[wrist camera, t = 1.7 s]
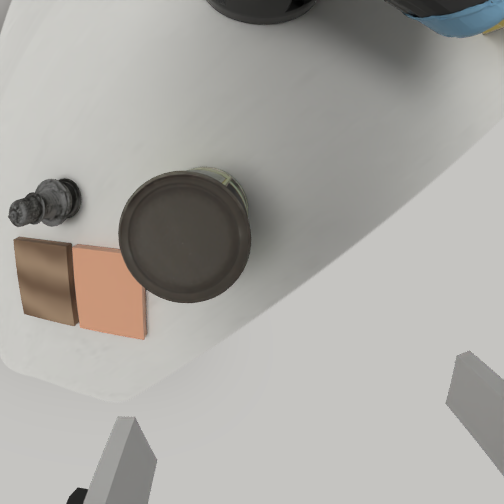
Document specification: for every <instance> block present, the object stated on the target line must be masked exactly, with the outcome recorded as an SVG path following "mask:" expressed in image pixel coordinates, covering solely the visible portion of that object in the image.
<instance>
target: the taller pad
mask: <svg viewBox="0 0 504 504" xmlns="http://www.w3.org/2000/svg"><path fill="white" fill-rule="evenodd" d="M72 252H73V268H74V280H75V290H76V300H77V308H78V316H79V323H80V328H84V329H89V330H94V331H99V332H104V333H109V334H114V335H119V336H125V337H131V338H136V339H142V340H144V339H145V337H146V335H147V328H146V292H145V288H144V287H143V286H142V285H141V284H139V283H138V282H137V281H136V279H135V278H134V277H133V276H132V274H131V273H130V271H129V270H128V268H127V266H126V264H125V262H124V260H123V257H122V254H121V250H120V249H114V248H106V247H97V246H89V245H81V244H77V245H75V246H74V247H72Z"/></svg>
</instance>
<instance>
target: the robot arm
mask: <svg viewBox="0 0 504 504" xmlns="http://www.w3.org/2000/svg"><path fill="white" fill-rule="evenodd" d="M207 1H208V3H209V4H210V5H211V6H212V7H213V8H215V9H216V10H217V11H219V12H220V13H222V14H224V15H226V16H228V17H230V18H232V19H235V20H238V21H242V22H247V23H253V24H274V23H281V22H285V21H289V20H292V19H294V18H296V17H299V16H300V15H302V14H304V13H305V12H307V11H308V10H309V9H310V8H311V7H312V6H313V5H314V4H315V2H316V1H317V0H207ZM384 1H386V2H387V3H389V4H391V5H392V6H394V7H396V8H397V9H399V10H401V11H402V12H403V13H404V15H406V16H407V17H409V18H411V19H414V20H418V21H419V22H421V23H422V24H424V25H426V26H427V27H429V28H430V29H432V30H433V31H435V32H436V33H438V34H440V35H443V36H446V37H457V38H464V37H470V36H474V35H477V34H480V33H482V32H484V31H486V30H488V29H490V28H492V27H494V26H495V25H497V24H498V23H499V22H501V21H502V20H503V19H504V0H384ZM446 405H447V406H448V407H449V408H450V409H451V411H452V412H453V413H454V414H455V415H456V416H457V418H458V419H459V420H460V422H461V423H462V424H463V425H464V426H465V428H466V429H467V430H468V431H469V433H470V434H471V435H472V436H473V438H474V439H475V440H476V441H477V443H478V444H479V445H480V446H481V448H482V449H483V450H484V451H485V453H486V454H487V455H488V456H489V458H490V459H491V460H492V461H493V463H494V464H495V466H496V467H497V468H498V469H499V471H500V472H501V473H502V475H503V476H504V380H503V379H502V378H501V377H500V376H499V375H497V374H496V373H495V372H494V371H493V370H492V369H491V368H489V367H488V366H487V365H486V364H485V363H484V362H482V361H481V360H480V359H479V358H478V357H477V356H475V355H474V354H473V353H472V352H471V351H467V352H465V353H462V354H460V355H458V356H457V357H456V362H455V367H454V371H453V376H452V380H451V384H450V388H449V392H448V396H447V400H446ZM156 463H157V459H156V457H155V455H154V453H153V451H152V450H151V448H150V446H149V444H148V442H147V440H146V438H145V436H144V434H143V432H142V430H141V428H140V426H139V424H138V422H137V420H136V418H135V417H118V418H117V420H116V422H115V425H114V427H113V429H112V432H111V434H110V436H109V439H108V441H107V444H106V447H105V449H104V451H103V454H102V456H101V459H100V461H99V464H98V466H97V469H96V471H95V474H94V476H93V479H92V481H91V484H90V487H89V489H83V488H77V489H76V490H75V491H74V492H73V493H72V494H71V496H69V499H68V501H67V504H148V499H149V495H150V491H151V486H152V481H153V477H154V472H155V468H156Z"/></svg>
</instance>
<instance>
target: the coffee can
mask: <svg viewBox="0 0 504 504" xmlns="http://www.w3.org/2000/svg"><path fill="white" fill-rule="evenodd" d="M118 234H119V246H120V250H121V254H122V257H123V260H124V262H125V264H126V266H127V268H128V270H129V271H130V273H131V274H132V276H133V277H134V278H135V279H136V281H137V282H138V283H139V284H141V285H142V286H143V287H144V288H145V289H147V290H148V291H150V292H151V293H153V294H154V295H156V296H158V297H160V298H163V299H166V300H169V301H172V302H178V303H195V302H201V301H206V300H209V299H212V298H214V297H216V296H218V295H220V294H221V293H223V292H224V291H226V290H227V289H228V288H229V287H231V286H232V285H233V284H234V282H235V281H236V280H237V279H238V278H239V276H240V275H241V273H242V272H243V270H244V268H245V266H246V263H247V261H248V258H249V254H250V247H251V231H250V225H249V221H248V204H247V199H246V196H245V193H244V191H243V189H242V188H241V186H240V185H239V183H238V182H237V181H236V180H235V179H234V178H233V177H232V176H231V175H229V174H227V173H226V172H224V171H222V170H219V169H216V168H211V167H198V168H193V169H190V170H187V171H174V172H168V173H164V174H161V175H159V176H156V177H154V178H152V179H150V180H148V181H147V182H145V183H144V184H143V185H141V186H140V187H139V188H138V189H137V190H136V191H135V192H134V193H133V195H132V196H131V197H130V198H129V200H128V202H127V203H126V205H125V207H124V209H123V212H122V215H121V218H120V223H119V231H118Z"/></svg>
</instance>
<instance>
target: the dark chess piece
mask: <svg viewBox="0 0 504 504" xmlns="http://www.w3.org/2000/svg"><path fill="white" fill-rule="evenodd" d="M80 204H81V194H80V191H79V188H78V186H77V185H76V184H75V183H74V182H73V181H72V180H70V179H60V180H56V179H47V180H45V181H43V182H41V183H40V185H39V186H38V187H37V189H36V191H35V193H34V192H33V193H29V194H28V195H27V196H26V197H25V198H23V199H19V200H16V201H15V202H13V203H12V204H11V206H10V209H9V216H8V218H9V219H10V221H11V222H12V223H13V224H14V225H15V226H17V227H21V226H24V225H27V224H29V223H31V224H38V223H40V222H41V221H42V222H43V223H44V224H46V225H47V226H58V225H59V224H61V223H62V222H63V221H64V220H65V219H66V218H70V217H72V216H74V215H75V214H76V213H77V211H78V210H79V208H80Z"/></svg>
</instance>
